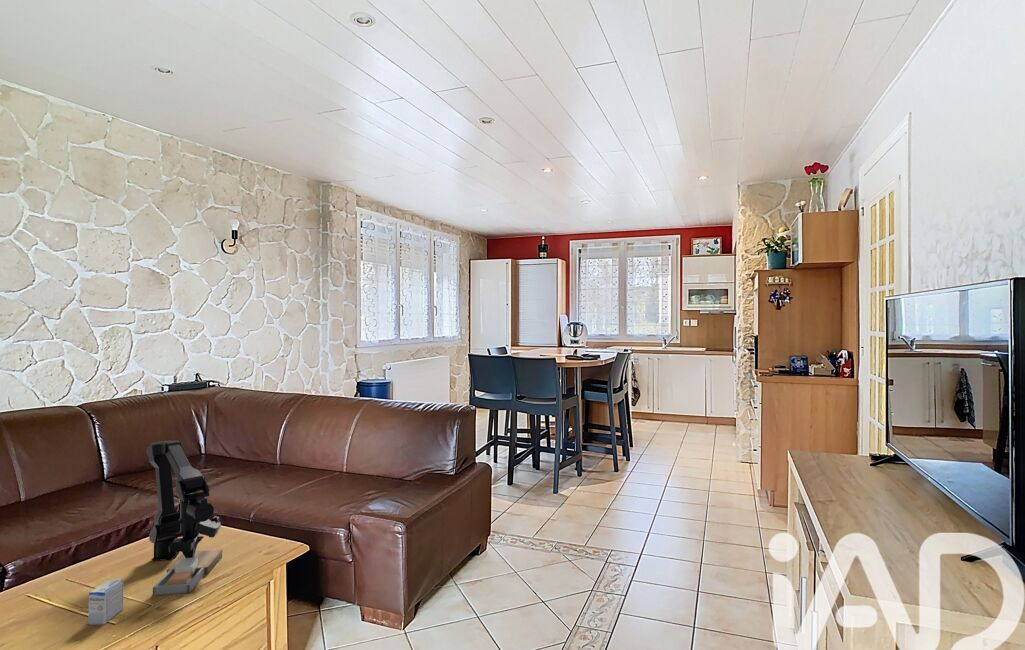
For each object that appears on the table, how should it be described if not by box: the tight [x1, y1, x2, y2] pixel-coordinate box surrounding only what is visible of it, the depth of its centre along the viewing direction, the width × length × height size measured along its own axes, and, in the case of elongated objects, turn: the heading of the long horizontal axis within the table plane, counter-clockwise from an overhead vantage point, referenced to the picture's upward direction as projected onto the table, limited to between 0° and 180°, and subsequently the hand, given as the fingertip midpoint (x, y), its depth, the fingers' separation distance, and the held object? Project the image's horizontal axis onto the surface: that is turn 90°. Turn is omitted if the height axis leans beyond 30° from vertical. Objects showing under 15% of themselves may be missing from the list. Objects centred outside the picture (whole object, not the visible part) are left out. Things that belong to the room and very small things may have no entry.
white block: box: [175, 557, 198, 574], centre depth 176 cm, size 5×5×2 cm
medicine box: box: [87, 578, 124, 626], centre depth 152 cm, size 8×4×9 cm, turn 5°
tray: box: [152, 568, 205, 596], centre depth 171 cm, size 10×12×2 cm
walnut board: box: [166, 549, 223, 576], centre depth 184 cm, size 12×14×2 cm
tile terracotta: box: [168, 571, 192, 585], centre depth 171 cm, size 5×5×2 cm
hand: (190, 562), depth 179 cm, fingers closed
